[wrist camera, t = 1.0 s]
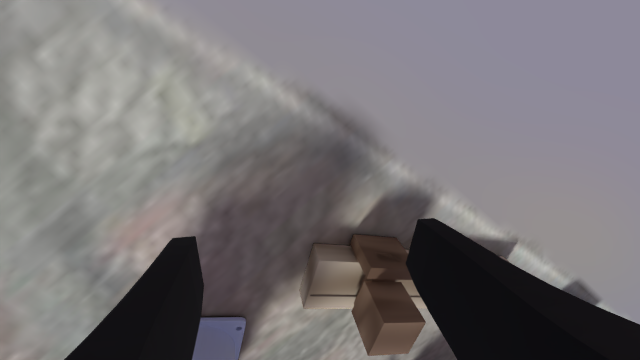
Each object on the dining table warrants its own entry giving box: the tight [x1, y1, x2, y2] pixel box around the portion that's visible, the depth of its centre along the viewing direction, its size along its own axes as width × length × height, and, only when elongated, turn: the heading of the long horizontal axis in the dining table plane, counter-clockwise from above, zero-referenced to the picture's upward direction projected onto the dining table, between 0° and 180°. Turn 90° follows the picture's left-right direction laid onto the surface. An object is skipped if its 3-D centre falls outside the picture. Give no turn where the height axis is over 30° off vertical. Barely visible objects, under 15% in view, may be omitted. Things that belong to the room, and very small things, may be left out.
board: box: [300, 243, 510, 309], centre depth 27 cm, size 5×20×2 cm, turn 75°
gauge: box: [350, 234, 426, 356], centre depth 23 cm, size 6×4×7 cm
